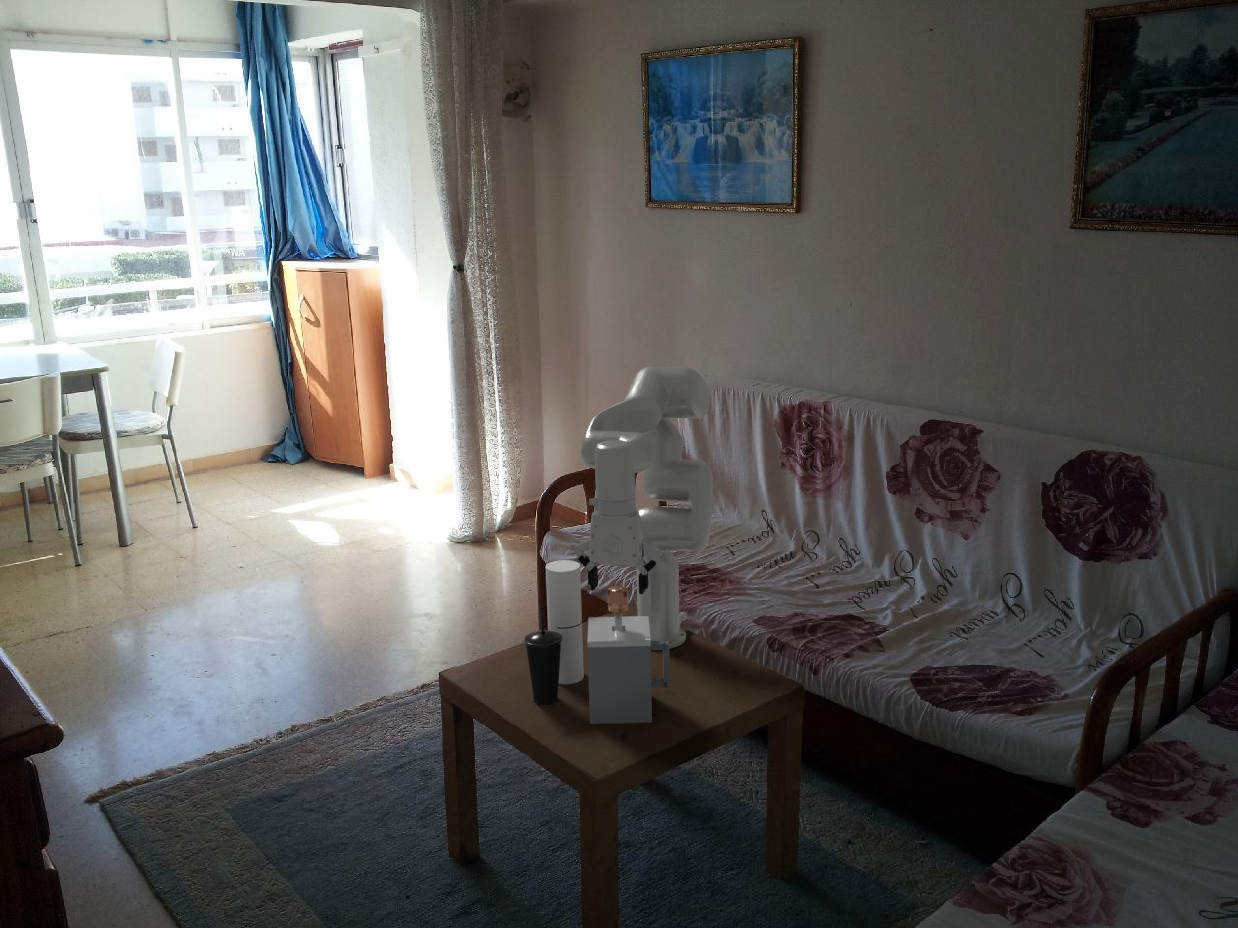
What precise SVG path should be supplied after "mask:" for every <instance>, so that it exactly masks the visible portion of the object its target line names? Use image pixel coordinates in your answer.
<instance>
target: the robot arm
mask: <svg viewBox="0 0 1238 928" xmlns="http://www.w3.org/2000/svg"><path fill="white" fill-rule="evenodd" d="M710 391H711V390H710V388H709V386H708V384H707V382H706V381H705V379H704V378H703V376H702V375H701V374H700V372H698V371H697V370H696V369H693V368H692V367H689V366H662V365H661V366H659V365H658V366H654V365H653V366H647V367H644V368H641V369H640V370H639V371H638V372H637V373H636V375H635V376H634V378H633V380H632V381H631V384H630V387H629V389H628V390H627V393H626V395H625V398H624V399H623V400H622V401H619V402H618V403H615V404H613V405H612V406H610V407H608V408H606V409H604V410H602V411H600V412H599V413H598V414H596V415H595V416H593V418H592V420H591V421H590V422H589V424H588V426H587V428H586V430H585V433H584V434H583V439H582V442H581V444H580V456H581V459H582V462H583V463H584V465H585V466H587V467H588V468H591V469H594V473H595V474H594V477H595V479H594V480H595V481H594V482H595V496H594V497H593V498H589V499H588V505H589V506H592V507H594V509H595V510H594V511H593V512H592V513H591V519H590V526H589V536H588V537H589V538H588V539H587V540H584V541H583V542H580V543H578V544H576V545H575V546H574V547H572V550H573V552H574V554H575V556H576V557H577V559H578V560H577V561H578V563H579V564H580V565H582V566H583V567H584V570H585V571H586V572H587V584H588V586H590V591H592V592H594V591H595V590H596V589H597V588H598V586H599V570H598V569H599V568H598V566H596V565H600V566H613V567H614V566H615V567H625V568H626V567H627V568H628V567H629V568H630V567H631V568H634V567H635V568H636V599H637V601H636V602H637V603H636V606H637V607H636V608H637V616H648V618H649V629H650V640H651V641H669V650H670V649H675V648H677V647H679V646H681V645H683V644H684V643H685V641H686V640H687V633H686V631H685V630H683V629H682V628H681V623H683V621H685V620H687V619H688V614H687V612H685V611H681V612H680V597H679V595H680V594H679V592H680V591H679V590H680V588H679V587H680V586H679V583H680V580H679V577H680V575H679V574H680V572H679V571H680V570H679V564H678V562H677V559H676V558H675V556H674V555H673V553H672V552H671V551H684V552H701V551H703V550H705V549H706V548H707V546H708V544H709V541H710V534H711V527H712V526H711V524H712V509H713V496H714V494H713V493H714V478H713V477H714V475H713V471H712V469H711V467H710V465H709V464H708V463H707V462H705V461H702V460H695V459H683V456H682V455H683V445H684V444H683V443H684V439H683V436H682V434H681V432H680V430H679V429H678V428H677V426H676V425H675V424H674V423H673V421H672V420H671V419H673V418H674V419H701V418H702V419H703V417H705V416H706V415H707V414H708V412H709V410H710V407H711V392H710ZM670 418H671V419H670ZM640 472H642V479H641V481H642V483H641V484H642V492H643V494H644V496H645V497H646V498H647V499H649V500H652V501H660V502H661V501H662V502H672V503H673V502H675V503H676V502H677V503H688V504H690V507H676V506H675V507H674V506H659V505H657V506H656V505H655V506H653V505H652V506H651V505H650V506H644V507H641V508H639V509H638V510H637V507H636V506H637V503H636V502H637V500H636V498H637V496H636V493H637V492H636V473H640ZM587 549H588V555H587V554H585V552H584V550H587Z"/></svg>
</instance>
